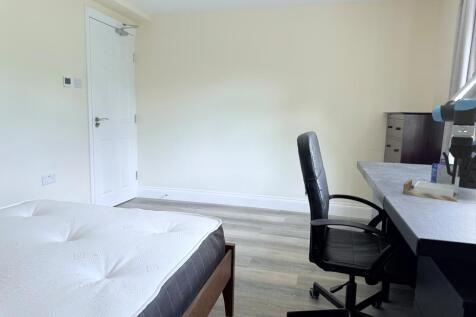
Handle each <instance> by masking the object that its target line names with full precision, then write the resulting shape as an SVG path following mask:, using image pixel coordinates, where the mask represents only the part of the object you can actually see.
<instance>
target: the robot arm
mask: <svg viewBox="0 0 476 317" xmlns="http://www.w3.org/2000/svg"><path fill="white" fill-rule="evenodd" d="M431 115H432V119H433V120H434V121H436V122H442V123H447V122H449V123H452V129H451V135H452V136H451V138H450V144H449V145H450V146H449V148H448V149H447V150H444V151H442V156H443V157H444V159H445V160H444V162H445V163H446V168H447V174H448V175H451V176H452V182H451V183H452V184H455V185H454V193H458V194H459V188H460V187H461V188H468V189H476V140H474V136H475V128H476V70H475V71H473V73H472V75H471V77H470V78H469V80H467V82H465V84H463V86H461V88H459V90H458V91H456V92H455V94H453V96H452V97H451V98H449V99H448V101H446V103H444V104H439V105H435V106H434V108H433V109H432V112H431ZM450 154H451V156H452V158H453V164H454V165H453V173H452V172H451V170H450V164H451V163H450V159H449V156H450ZM457 165H459V168H458V177H457V176H456V169H457Z"/></svg>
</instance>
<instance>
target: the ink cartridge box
mask: <svg viewBox="0 0 476 317" xmlns="http://www.w3.org/2000/svg"><path fill="white" fill-rule="evenodd" d="M439 160H440V161H439V162H440V163H432V164H431V173H430V174H431V176H430V183H437V184H445V185H455V184H452V183H451V182H452V176H451V175H448V174H447V168H446V163H445V158H440V159H439ZM449 164H450V170H451V172H452V173H453V165H454V163H449ZM458 168H459V165H457V169H456V176H457V177H458Z"/></svg>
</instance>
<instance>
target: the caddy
mask: <svg viewBox="0 0 476 317" xmlns="http://www.w3.org/2000/svg"><path fill="white" fill-rule="evenodd" d="M413 186H414V189H413V192H420V193H427V194H434V195H441V196H449V197H454V195H455V194H454V185H445V184H437V183H431V182H429V181H420V180H418V181H417V182H416V183H415V184H414V185H413Z"/></svg>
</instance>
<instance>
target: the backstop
mask: <svg viewBox="0 0 476 317" xmlns="http://www.w3.org/2000/svg"><path fill="white" fill-rule="evenodd" d="M412 190H414V185H413V179H412V178H408V180H406V181H405V182H404V183H403V188H402V191H403V192H402V195H409V196H414V197H415V196H416V197H421V198H429V199H436V200H442V201H450V202H458V197H455V196H453V197H449V196H441V195H434V194H427V193H420V192H414V191H412ZM454 195H456V196H458V195H459V192H458V193H454Z"/></svg>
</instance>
